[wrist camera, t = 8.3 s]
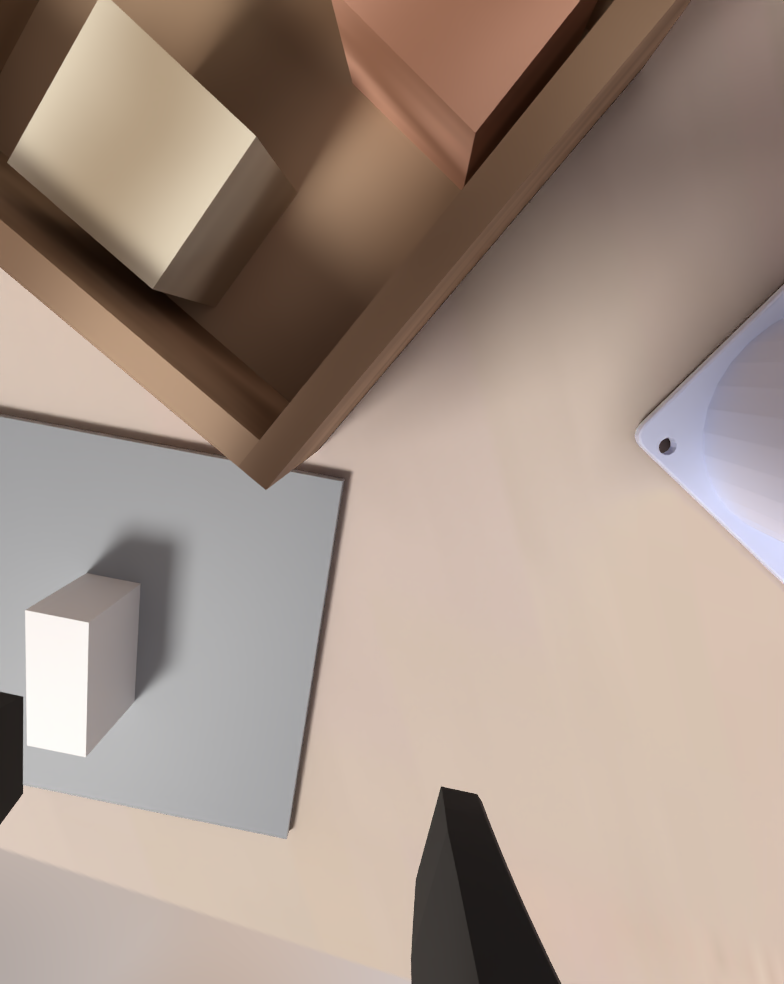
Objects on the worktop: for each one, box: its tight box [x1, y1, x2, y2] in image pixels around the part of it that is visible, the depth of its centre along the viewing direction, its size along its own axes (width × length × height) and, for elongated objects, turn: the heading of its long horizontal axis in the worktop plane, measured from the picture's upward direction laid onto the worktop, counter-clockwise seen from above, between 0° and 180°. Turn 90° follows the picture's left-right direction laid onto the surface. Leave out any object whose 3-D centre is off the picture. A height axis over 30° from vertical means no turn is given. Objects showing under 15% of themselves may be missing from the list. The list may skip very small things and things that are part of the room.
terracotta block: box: [331, 0, 598, 190], centre depth 11 cm, size 4×4×4 cm
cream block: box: [7, 0, 297, 307], centre depth 12 cm, size 4×4×4 cm
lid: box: [0, 414, 344, 839], centre depth 17 cm, size 15×15×4 cm
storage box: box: [0, 0, 691, 490], centre depth 11 cm, size 14×14×6 cm
